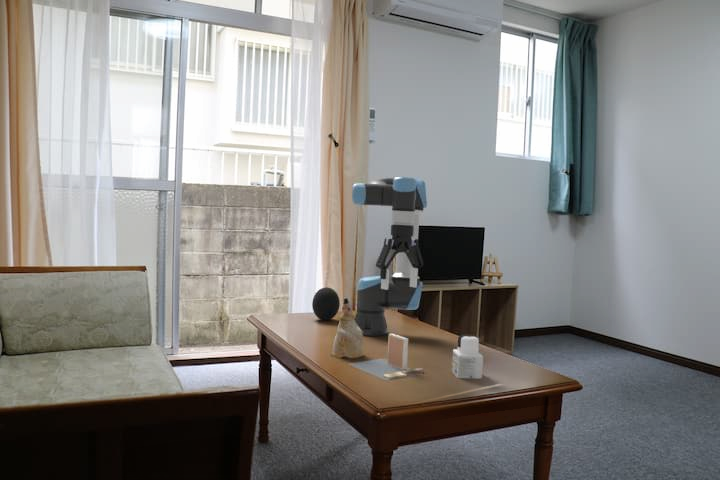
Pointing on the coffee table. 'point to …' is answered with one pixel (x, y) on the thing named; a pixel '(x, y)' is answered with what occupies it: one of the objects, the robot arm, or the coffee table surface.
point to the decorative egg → (325, 303)
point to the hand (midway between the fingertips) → (399, 288)
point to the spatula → (403, 373)
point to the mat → (379, 368)
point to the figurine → (348, 335)
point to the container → (467, 358)
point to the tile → (397, 351)
